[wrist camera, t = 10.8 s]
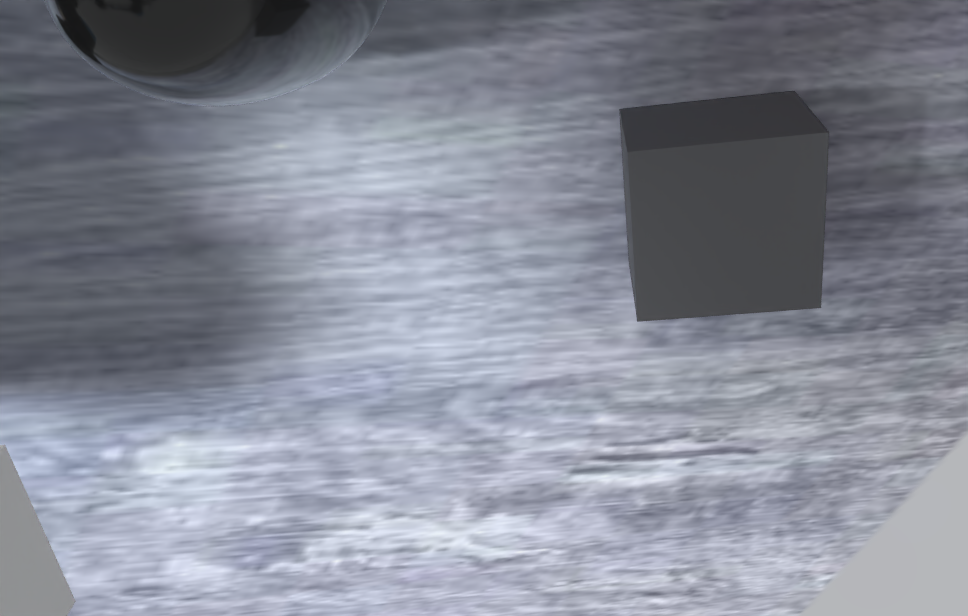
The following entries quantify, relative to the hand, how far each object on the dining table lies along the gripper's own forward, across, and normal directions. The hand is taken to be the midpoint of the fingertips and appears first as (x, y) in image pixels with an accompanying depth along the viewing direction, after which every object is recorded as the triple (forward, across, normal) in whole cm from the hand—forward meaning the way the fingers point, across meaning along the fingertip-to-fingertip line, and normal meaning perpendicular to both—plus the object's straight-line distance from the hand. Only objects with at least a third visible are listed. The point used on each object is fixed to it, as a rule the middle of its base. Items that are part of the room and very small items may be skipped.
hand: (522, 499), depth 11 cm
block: (+29, +6, -7) cm, 30 cm away
